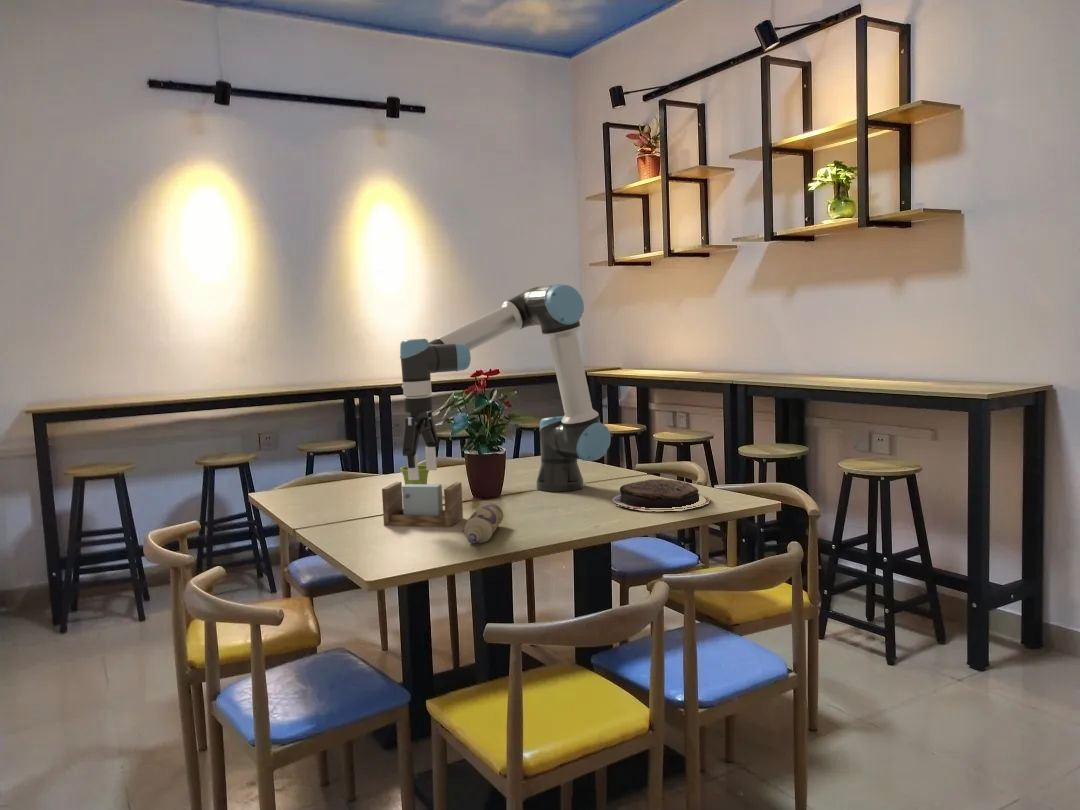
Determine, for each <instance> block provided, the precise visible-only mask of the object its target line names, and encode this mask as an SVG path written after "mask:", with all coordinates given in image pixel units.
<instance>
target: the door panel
mask: <svg viewBox="0 0 1080 810" xmlns="http://www.w3.org/2000/svg"><path fill="white" fill-rule="evenodd" d="M402 500H403V512H404V515H443V510H444V506H443V485H442V484H438V483H436V484H433V483H432V484H431V483H430V484H429V483H427V484H406V485H405V484H404V485H402Z"/></svg>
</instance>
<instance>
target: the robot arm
mask: <svg viewBox="0 0 1080 810" xmlns="http://www.w3.org/2000/svg"><path fill="white" fill-rule="evenodd" d="M584 310H585V304H584V300H583V297H582V295H581V294H580V292H579V291H578V290H577V289H576V288H574V287H573V286H571V285H569V284H558V283H557V284H552V285H551V284H550V285H543V286H535V287H532V288H529V289H527V290H525V291H523V292H520V293H519V294H518V295H516V296H513V297H512V298H510V299H507V300H505V301H504V302H503V303H502V305H501V307H499V308H497V309H495V310H493V311H490V312H489V313H487V314H484V315H483V316H481V317H478V318H476V319H475V320H472V321H470V322H468V323H465V324H464V325H462V326H459V327H458V328H456V329H453V330H451V331H449V332H448V333H445V334H442V335H441V336H439V337H437V338H435V339H433V340H430V341H429V340H428V339H427V338H416V339H415V338H414V339H413V338H412V339H403V340H402V341H401V342H400V346H399V347H400V348H399V355H400V356H399V359H400V364H401V366H400V367H401V376H402V377H401V378H402V385H401V388H402V390H403V391H402V393H403V396H404V397H405V398H404V399H403V409H404V412H405V413H410V416H409V417H405V419H404V420H405V421H404V422H405V423H404V424H405V428H404V436H403V446H402V456H403V457H405V456H406V466H407V467H408V480H419V470H418V465H419V459H418V454H417V451H418V446H419V440H420V436H421V437H422V439H423V440H424V443H425V445H426V446H425V448H424V449H425V450H424V451H425V452H424V453H425V466H426V467H427V470H429V471H437V470H438V469H437V455H436V454H437V452H436V451H437V450H436V447H439V438H438V434H437V430H436V427H435V424H434V420H433V412H432V410H433V398H432V396H431V395H432V394H433V392H432V380H431V374H437V373H450V372H455V373H456V372H457V373H458V372H460V371H466V370H467V369H468V368H469V367H470V365H471V358H472V357H471V352H470V351H472V350H474V349H477V348H479V347H481V346H483V345H484V344H487V343H489V342H490V341H493V340H494V339H496V338H499V337H501V336H503V335H505V334H507V333H508V332H510V331H514V332H518V331H520V330H522V329H524V328H527V327H533V326H534V327H535V326H540V330H541V333H542V335H543V336H544V337H546V338H547V339H548V342H549V347H550V352H551V356H552V361H553V365H554V370H555V375H556V380H557V383H558V388H559V389H558V390H559V394H560V398H561V403H562V406H563V407H562V408H563V412H564V415H562V416H552V417H551V416H550V417H544V418H541V420H540V422H539V439H540V440H539V442H540V443H539V444H540V467H539V470H538V475H537V479H536V489H537V490H540V491H542V492H543V491H544V492H570V491H577V490H580V488H581V489H583V488H584V478H583V475H582V473H581V470H580V466H579V464H578V460H581V461H587V462H588V461H598V460H600V459H601V458H602V457H604V456H605V455H606V453H607V451H608V449H609V448H610V445H611V438H612V437H611V432H610V429H609V428H608V426H606V425H605V424H604V423H603V422H601V421H600V419H601V418H600V414H599V412H598V411H596V410H595V409H593V406H592V401H591V395H590V391H589V390H590V389H589V385H588V381H587V377H586V370H585V367H584V362H583V357H582V352H581V347H580V343H579V337H578V333H577V332H578V331H579V329H581V328H580V327H581V324H580V323H581V322H580V320H581V318H582V317H583V315H582V314H583V313H584Z"/></svg>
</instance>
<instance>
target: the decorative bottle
mask: <svg viewBox="0 0 1080 810" xmlns="http://www.w3.org/2000/svg"><path fill="white" fill-rule="evenodd" d="M503 519H504V512H503V509H502V508H501V507H500V506H499V505H498V504H496V503H495V502H494V503H493V502H484V503H481V504H479V505H478V506H477V508H476V510H475V511H474V512H473V513H472V514H471V516H470V517H469V518H468V519H467V520H466V522H465V524H464V525H463V530H462V531H461V532H463V534H464V536H465V537H466V539H467V541H468V542H469V544H470V543H471V544H475V543H476V544H483V542H484V543H486V542H487V541H489V540H490V539H492V538H491V537H492V536H493V534H494V532H495V531H496V530H497V529H498V527H499V525H500V524H502V521H503Z"/></svg>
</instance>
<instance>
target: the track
mask: <svg viewBox="0 0 1080 810" xmlns="http://www.w3.org/2000/svg"><path fill="white" fill-rule="evenodd" d="M402 484H403V483H402V481H395V482H394V483H391V484H389V485H387V486H385V487H383V488H381V489H382V490H381V495H382V496H381V497H382V499H381V500H382V512H383V513H382V514H383V516H382V517H383V526H384V525H392V526H391V527H433V526H438V527H440V526H441V528H442V527H443V528H447V527H449V528H451V527H453V526H455V525H456V524H457V523H459V522H460V521H461V520H463V519H464V513H463V512H464V509H463V507H464V506H463V488H462V481H460V482H459V481H458V482H457V481H456V482H454V483H452V484H450V485H448V486H447V487H445V488H444V489H443V495H444V497H443V498H444V509H443V515H404V512H403V493H402V486H403V485H402ZM462 518H463V519H462ZM459 520H460V521H459ZM458 521H459V522H458ZM455 523H456V524H455ZM394 525H395V526H394ZM438 527H437V528H438Z"/></svg>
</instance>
